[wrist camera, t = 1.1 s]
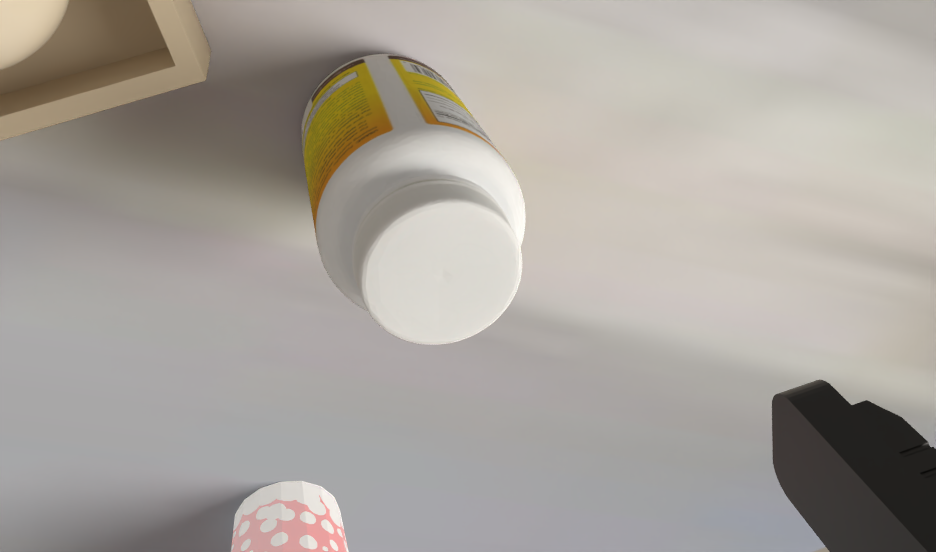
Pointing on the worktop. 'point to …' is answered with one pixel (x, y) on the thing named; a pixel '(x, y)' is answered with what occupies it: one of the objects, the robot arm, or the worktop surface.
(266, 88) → the worktop surface
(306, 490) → the beverage cup
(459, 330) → the supplement bottle
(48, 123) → the divided tray
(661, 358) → the worktop surface
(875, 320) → the worktop surface
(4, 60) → the egg
